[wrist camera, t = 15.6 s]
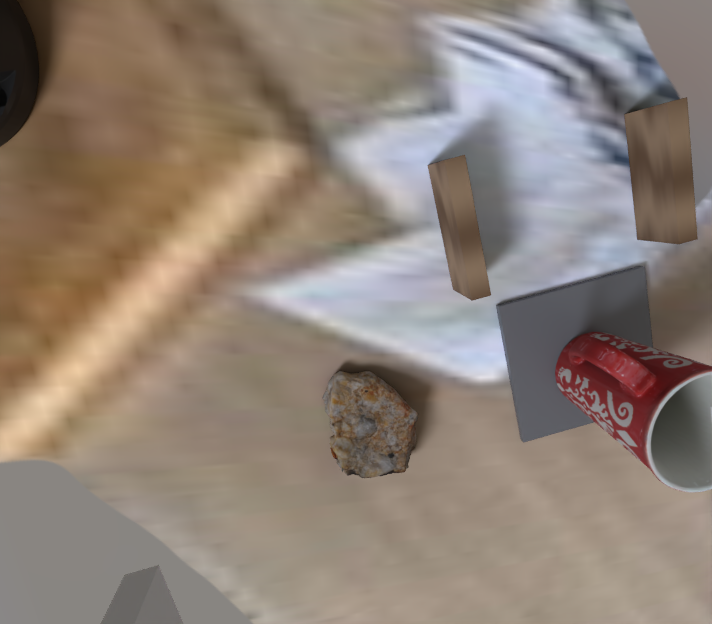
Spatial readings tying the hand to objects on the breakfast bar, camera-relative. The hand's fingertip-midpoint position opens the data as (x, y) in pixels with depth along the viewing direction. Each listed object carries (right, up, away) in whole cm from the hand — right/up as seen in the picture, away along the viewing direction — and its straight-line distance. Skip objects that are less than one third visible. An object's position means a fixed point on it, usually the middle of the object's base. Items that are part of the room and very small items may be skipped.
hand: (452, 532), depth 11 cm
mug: (+19, +1, +34) cm, 39 cm away
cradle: (+14, +15, +31) cm, 37 cm away
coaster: (+19, +1, +34) cm, 39 cm away
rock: (-1, -5, +34) cm, 35 cm away
